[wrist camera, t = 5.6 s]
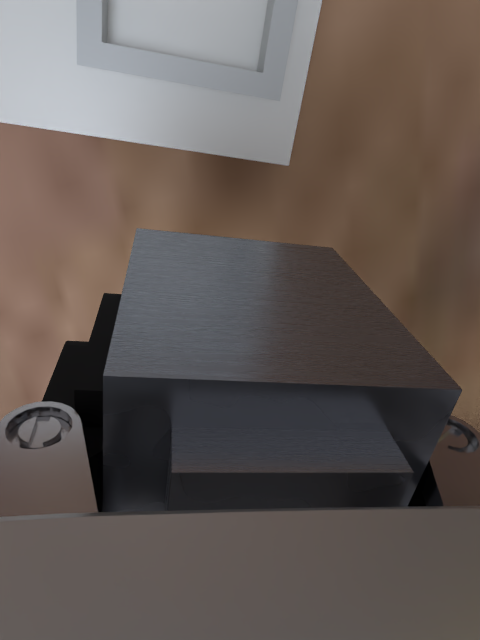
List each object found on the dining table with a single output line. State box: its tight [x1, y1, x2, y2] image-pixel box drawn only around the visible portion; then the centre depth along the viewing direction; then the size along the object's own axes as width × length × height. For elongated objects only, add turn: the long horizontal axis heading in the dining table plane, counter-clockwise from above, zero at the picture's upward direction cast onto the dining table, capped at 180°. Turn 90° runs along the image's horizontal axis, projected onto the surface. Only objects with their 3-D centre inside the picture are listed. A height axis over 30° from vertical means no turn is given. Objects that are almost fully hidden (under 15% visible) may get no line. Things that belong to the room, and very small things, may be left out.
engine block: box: [103, 228, 462, 512], centre depth 10 cm, size 5×6×7 cm
